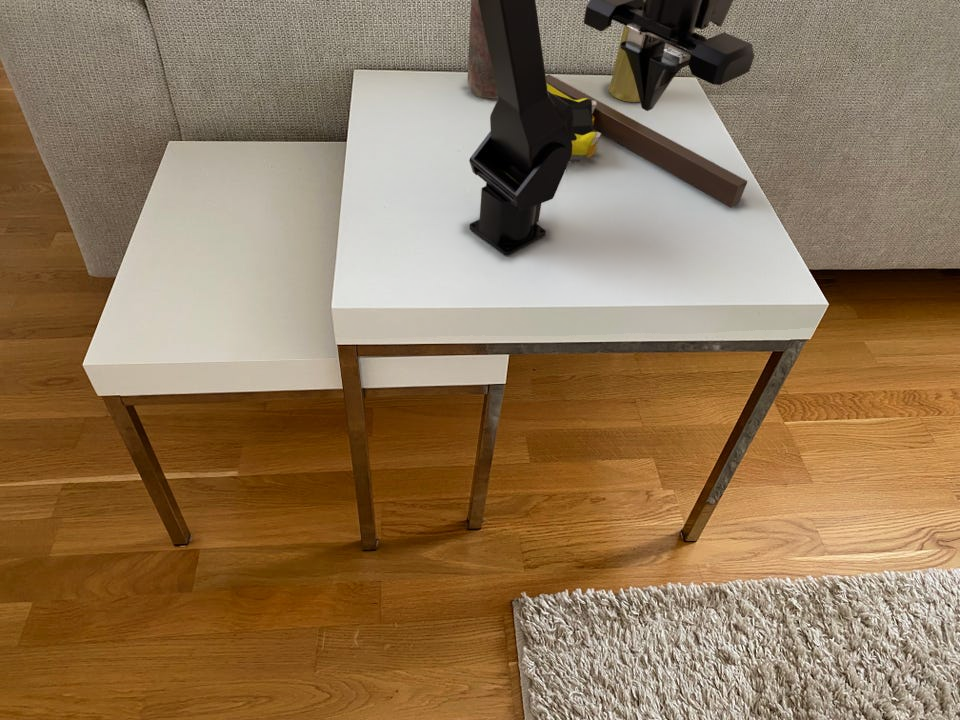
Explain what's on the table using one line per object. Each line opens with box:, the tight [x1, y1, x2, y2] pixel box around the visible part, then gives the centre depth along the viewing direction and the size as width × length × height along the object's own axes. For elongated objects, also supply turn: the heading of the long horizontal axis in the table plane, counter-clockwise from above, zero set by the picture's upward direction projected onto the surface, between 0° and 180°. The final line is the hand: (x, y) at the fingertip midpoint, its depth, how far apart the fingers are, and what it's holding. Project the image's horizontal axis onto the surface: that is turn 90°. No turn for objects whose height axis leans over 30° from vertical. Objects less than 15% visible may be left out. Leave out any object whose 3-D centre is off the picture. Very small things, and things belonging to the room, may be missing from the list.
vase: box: [608, 0, 645, 103], centre depth 100 cm, size 6×6×14 cm
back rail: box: [545, 74, 748, 208], centre depth 94 cm, size 2×34×3 cm, turn 42°
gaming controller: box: [547, 83, 602, 164], centre depth 93 cm, size 15×6×10 cm
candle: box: [467, 0, 498, 99], centre depth 97 cm, size 8×7×20 cm
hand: (647, 108), depth 81 cm, fingers closed
